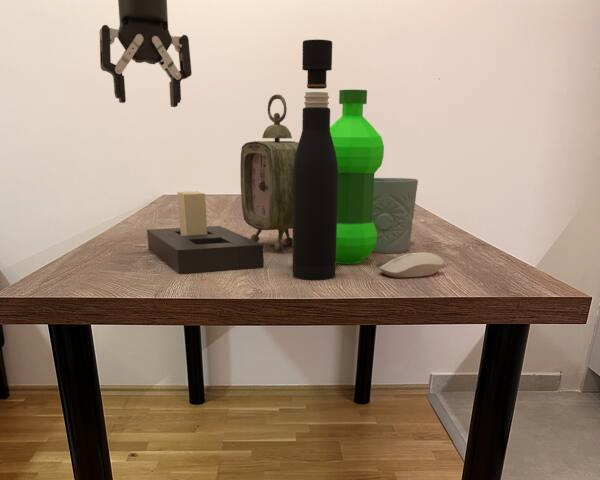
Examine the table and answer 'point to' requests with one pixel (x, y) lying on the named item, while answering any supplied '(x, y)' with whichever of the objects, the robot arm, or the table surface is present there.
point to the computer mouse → (413, 265)
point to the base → (205, 250)
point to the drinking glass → (393, 213)
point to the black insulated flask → (315, 174)
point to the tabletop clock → (269, 180)
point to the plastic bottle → (355, 178)
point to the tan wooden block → (192, 213)
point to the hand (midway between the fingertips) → (148, 104)
